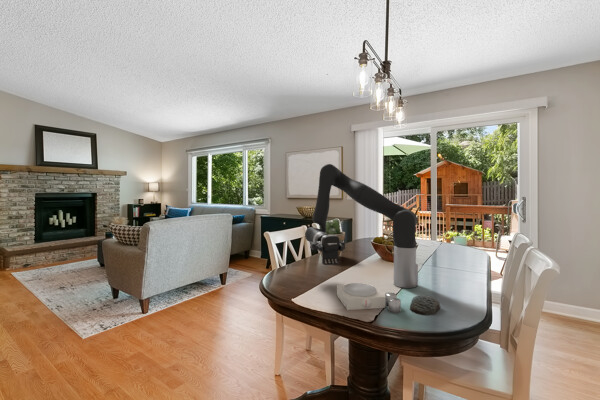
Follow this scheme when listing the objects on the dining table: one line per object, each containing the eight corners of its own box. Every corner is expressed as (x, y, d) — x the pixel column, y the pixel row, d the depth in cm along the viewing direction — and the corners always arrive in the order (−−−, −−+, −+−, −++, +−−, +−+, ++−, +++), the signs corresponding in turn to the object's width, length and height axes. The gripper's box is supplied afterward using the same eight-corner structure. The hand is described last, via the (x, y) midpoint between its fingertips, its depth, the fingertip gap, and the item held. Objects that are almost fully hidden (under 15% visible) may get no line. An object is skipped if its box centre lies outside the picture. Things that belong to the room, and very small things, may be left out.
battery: (323, 266, 108) (323, 236, 108) (320, 263, 112) (320, 235, 111) (340, 265, 110) (340, 236, 109) (337, 262, 113) (337, 234, 113)
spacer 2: (397, 308, 101) (397, 297, 101) (402, 313, 97) (402, 301, 97) (386, 309, 100) (386, 298, 100) (391, 314, 96) (391, 302, 96)
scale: (370, 293, 115) (370, 281, 115) (386, 308, 101) (386, 294, 100) (337, 295, 113) (337, 283, 113) (348, 310, 99) (348, 296, 99)
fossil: (443, 307, 103) (443, 296, 103) (431, 318, 93) (431, 307, 93) (415, 300, 110) (415, 290, 109) (401, 310, 100) (401, 299, 100)
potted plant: (344, 253, 187) (344, 216, 186) (345, 260, 168) (346, 219, 167) (316, 253, 188) (316, 216, 188) (315, 260, 170) (315, 218, 169)
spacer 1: (393, 302, 106) (393, 292, 106) (398, 307, 102) (398, 296, 102) (383, 303, 105) (383, 292, 105) (387, 307, 101) (388, 296, 101)
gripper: (306, 233, 123) (313, 240, 107) (338, 232, 125) (350, 238, 109) (306, 250, 124) (313, 259, 107) (338, 249, 126) (350, 258, 109)
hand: (332, 249), depth 108 cm, fingers closed on battery, 7 cm apart
